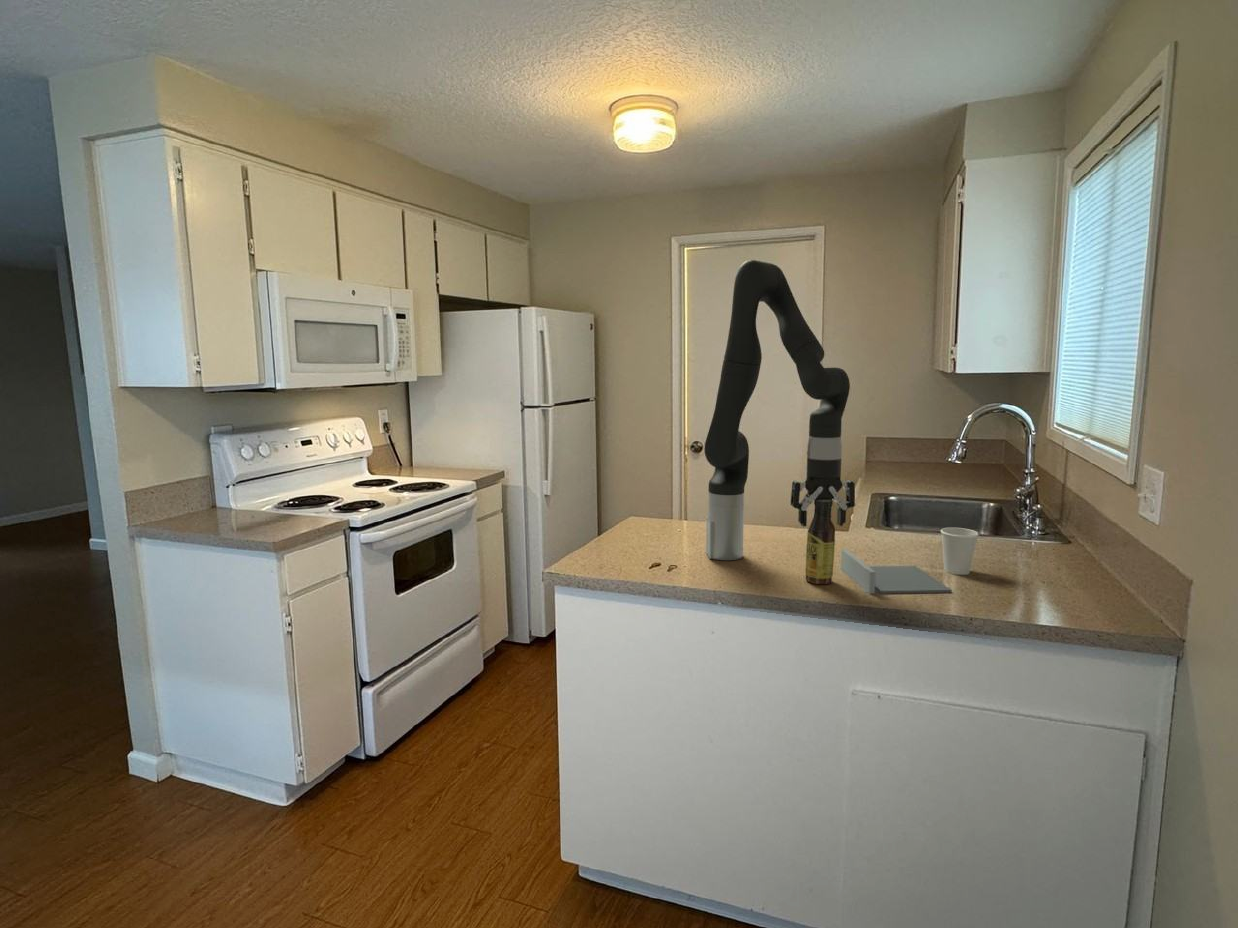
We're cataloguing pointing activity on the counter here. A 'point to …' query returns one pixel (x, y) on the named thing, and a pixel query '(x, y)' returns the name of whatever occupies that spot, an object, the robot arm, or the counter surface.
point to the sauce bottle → (820, 544)
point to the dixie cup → (958, 549)
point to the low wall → (858, 571)
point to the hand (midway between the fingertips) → (821, 525)
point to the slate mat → (906, 580)
